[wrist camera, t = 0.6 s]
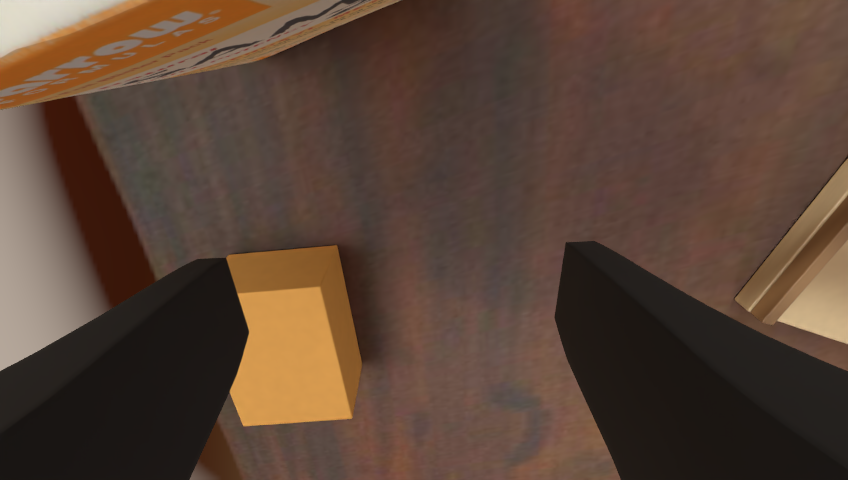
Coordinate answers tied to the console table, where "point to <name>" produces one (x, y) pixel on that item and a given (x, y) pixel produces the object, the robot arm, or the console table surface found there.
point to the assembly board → (808, 269)
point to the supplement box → (147, 40)
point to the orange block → (295, 337)
